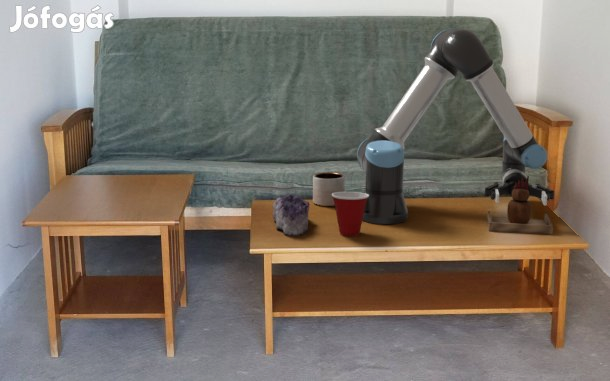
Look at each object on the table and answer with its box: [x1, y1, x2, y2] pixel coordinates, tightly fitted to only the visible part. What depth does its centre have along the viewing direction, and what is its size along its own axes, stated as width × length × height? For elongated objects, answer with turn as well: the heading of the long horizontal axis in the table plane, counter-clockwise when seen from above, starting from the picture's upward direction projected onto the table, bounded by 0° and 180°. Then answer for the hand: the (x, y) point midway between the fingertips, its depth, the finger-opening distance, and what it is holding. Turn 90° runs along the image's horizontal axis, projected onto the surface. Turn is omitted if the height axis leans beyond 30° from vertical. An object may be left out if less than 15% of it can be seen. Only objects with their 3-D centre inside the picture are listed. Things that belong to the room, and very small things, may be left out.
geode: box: [272, 193, 310, 237], centre depth 208 cm, size 20×12×10 cm, turn 8°
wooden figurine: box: [506, 175, 533, 224], centre depth 206 cm, size 7×6×15 cm
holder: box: [486, 210, 554, 235], centre depth 208 cm, size 18×13×2 cm
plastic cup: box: [332, 191, 369, 237], centre depth 201 cm, size 11×11×12 cm
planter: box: [312, 171, 346, 207], centre depth 235 cm, size 11×11×10 cm
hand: (521, 199), depth 203 cm, fingers open, 13 cm apart
